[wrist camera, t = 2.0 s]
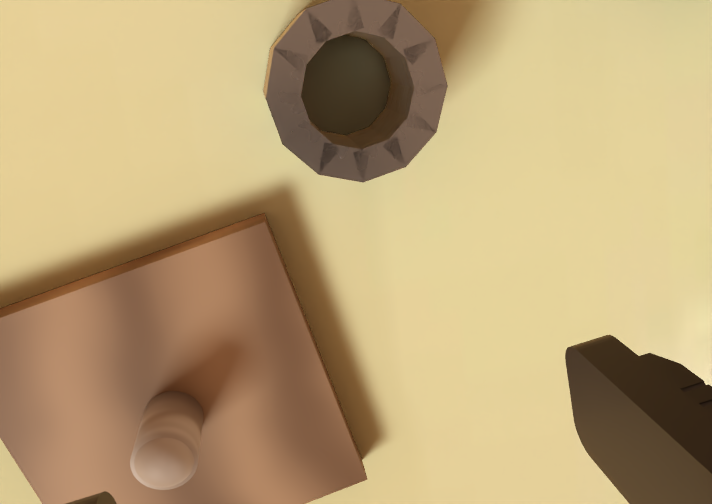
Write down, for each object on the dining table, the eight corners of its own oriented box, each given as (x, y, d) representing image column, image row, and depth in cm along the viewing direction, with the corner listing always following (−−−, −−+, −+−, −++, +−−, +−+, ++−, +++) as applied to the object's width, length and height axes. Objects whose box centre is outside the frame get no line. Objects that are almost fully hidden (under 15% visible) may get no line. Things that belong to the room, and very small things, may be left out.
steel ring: (391, -19, 25) (416, -30, 22) (434, 132, 28) (463, 146, 24) (242, 33, 25) (240, 31, 21) (296, 182, 27) (304, 203, 23)
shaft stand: (264, 212, 27) (267, 251, 22) (362, 460, 32) (383, 539, 27) (-46, 325, 27) (-117, 391, 22) (101, 560, 32) (72, 661, 26)
